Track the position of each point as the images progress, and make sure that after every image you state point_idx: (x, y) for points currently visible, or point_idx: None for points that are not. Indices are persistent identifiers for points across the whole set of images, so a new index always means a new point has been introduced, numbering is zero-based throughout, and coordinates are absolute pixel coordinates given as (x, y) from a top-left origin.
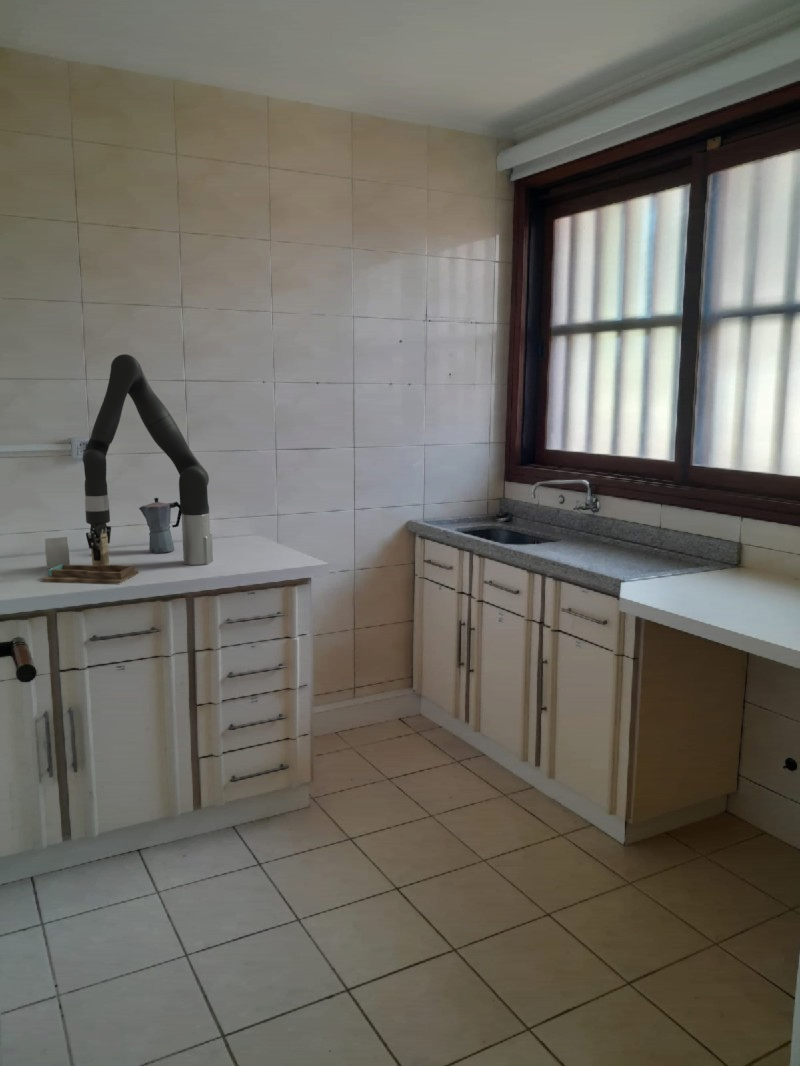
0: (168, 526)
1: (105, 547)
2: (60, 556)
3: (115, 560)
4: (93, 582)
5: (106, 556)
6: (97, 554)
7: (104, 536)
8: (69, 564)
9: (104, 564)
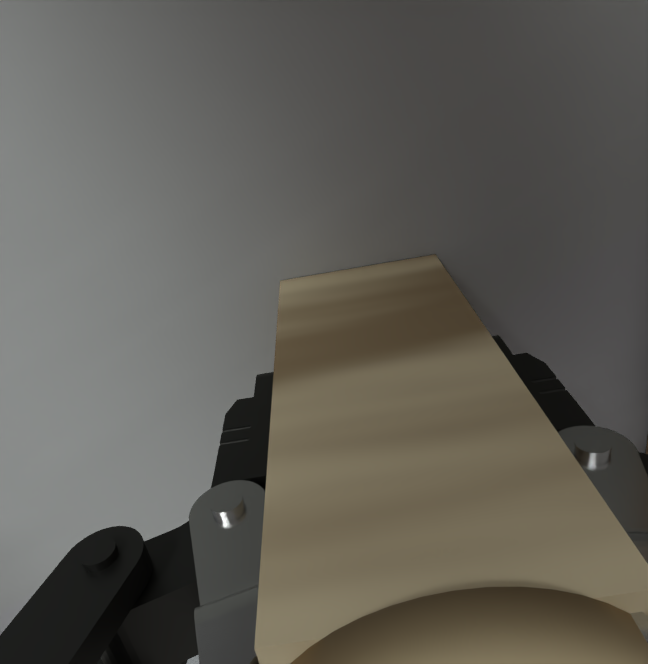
0: None
1: (398, 420)
2: None
3: (4, 377)
4: None
5: (356, 330)
6: (567, 395)
7: (558, 647)
8: None
9: (425, 273)
